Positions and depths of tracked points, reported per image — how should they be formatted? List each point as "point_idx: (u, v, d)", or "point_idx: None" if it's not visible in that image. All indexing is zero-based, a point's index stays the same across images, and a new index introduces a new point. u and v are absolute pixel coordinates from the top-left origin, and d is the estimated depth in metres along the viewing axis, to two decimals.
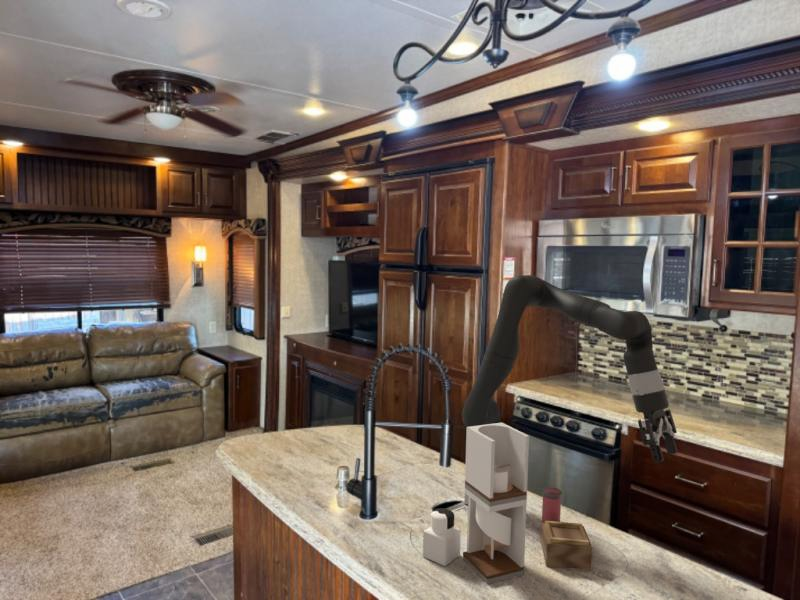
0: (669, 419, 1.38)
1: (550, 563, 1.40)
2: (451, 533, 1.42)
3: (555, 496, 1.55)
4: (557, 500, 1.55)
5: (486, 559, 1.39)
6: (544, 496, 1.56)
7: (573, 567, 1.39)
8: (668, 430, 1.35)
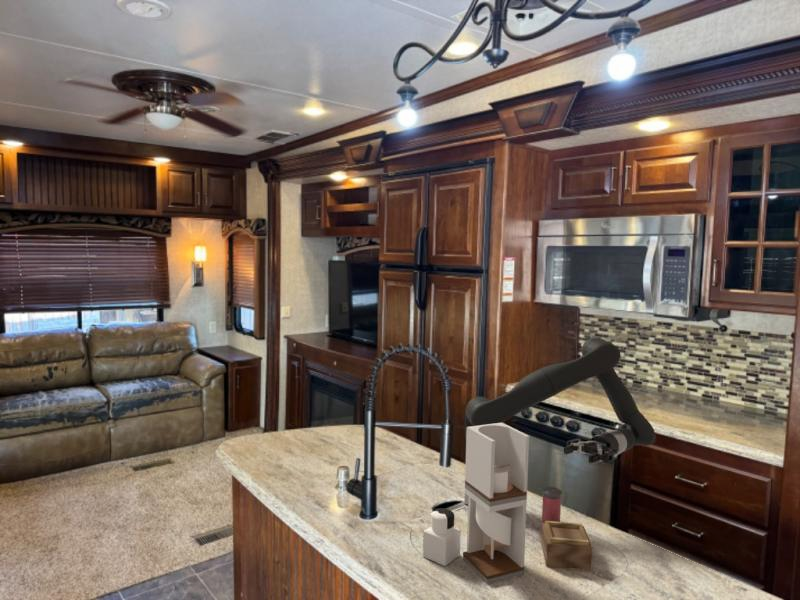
0: (576, 446, 1.72)
1: (550, 563, 1.40)
2: (451, 533, 1.42)
3: (555, 496, 1.55)
4: (557, 500, 1.55)
5: (486, 559, 1.39)
6: (544, 496, 1.56)
7: (573, 567, 1.39)
8: (580, 451, 1.69)
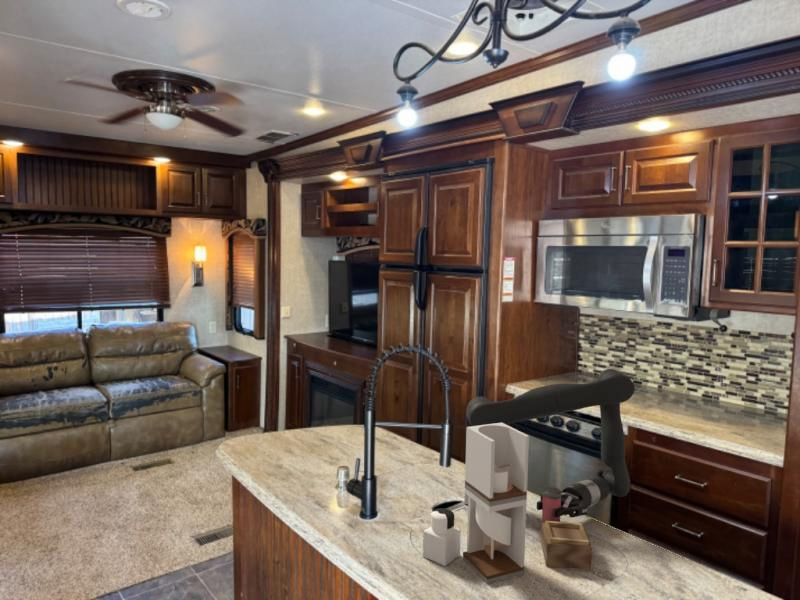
0: None
1: (550, 563, 1.40)
2: (451, 533, 1.42)
3: (555, 496, 1.55)
4: (557, 500, 1.55)
5: (486, 559, 1.39)
6: (544, 496, 1.56)
7: (573, 567, 1.39)
8: None
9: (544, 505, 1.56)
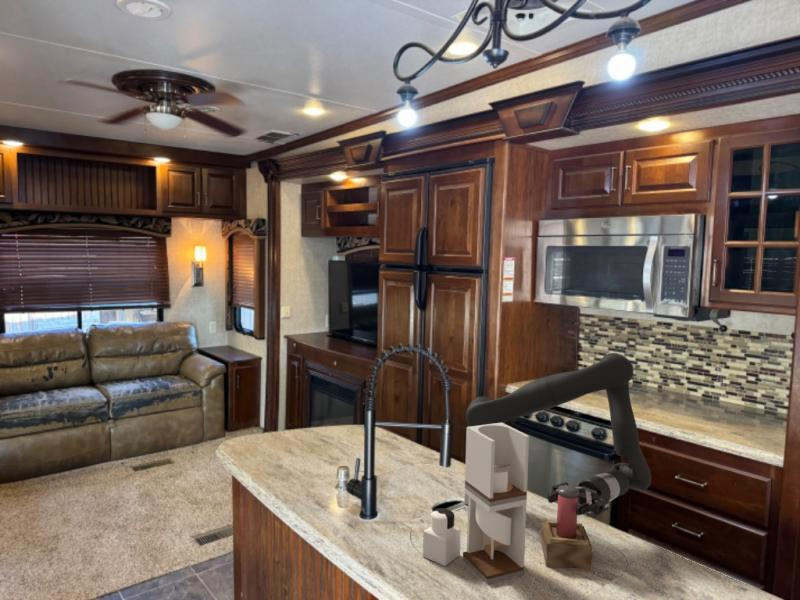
0: None
1: (550, 563, 1.40)
2: (451, 533, 1.42)
3: (572, 495, 1.41)
4: (574, 500, 1.42)
5: (486, 559, 1.39)
6: (560, 495, 1.43)
7: (573, 567, 1.39)
8: None
9: (560, 505, 1.43)
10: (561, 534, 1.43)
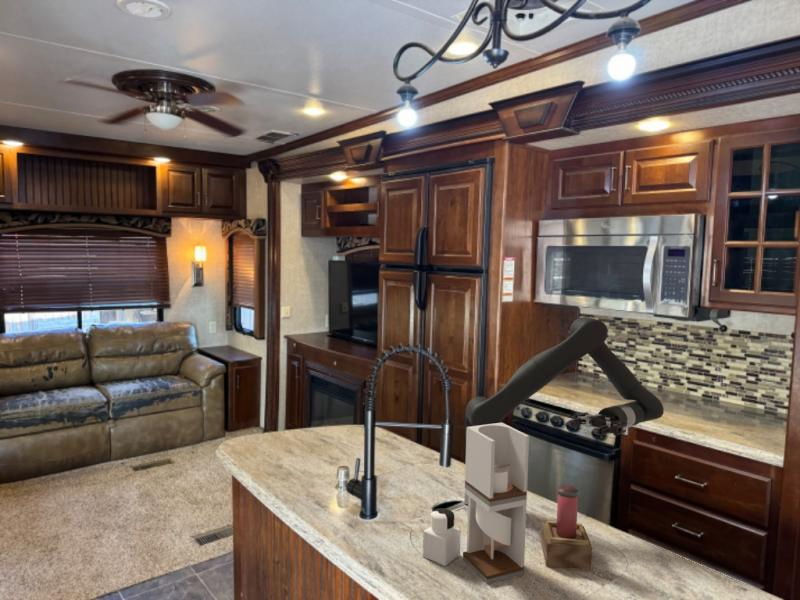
0: (583, 420, 1.67)
1: (550, 563, 1.40)
2: (451, 533, 1.42)
3: (572, 495, 1.41)
4: (574, 499, 1.42)
5: (486, 559, 1.39)
6: (560, 495, 1.43)
7: (573, 567, 1.39)
8: (587, 425, 1.63)
9: (560, 505, 1.43)
10: (561, 534, 1.43)
